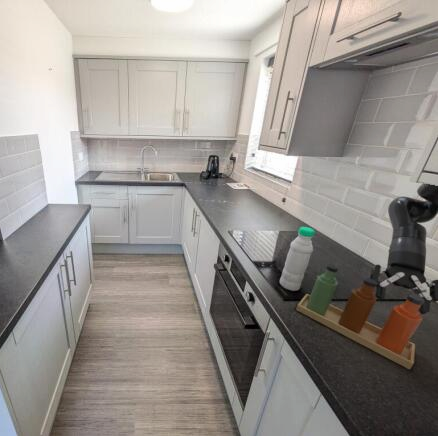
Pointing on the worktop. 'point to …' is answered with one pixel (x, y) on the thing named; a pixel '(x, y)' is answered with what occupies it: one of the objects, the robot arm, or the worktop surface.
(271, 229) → the worktop surface
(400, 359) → the tray
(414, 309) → the terracotta bottle
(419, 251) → the robot arm
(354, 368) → the worktop surface
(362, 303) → the amber bottle
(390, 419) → the worktop surface
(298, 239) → the water bottle
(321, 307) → the sage bottle
